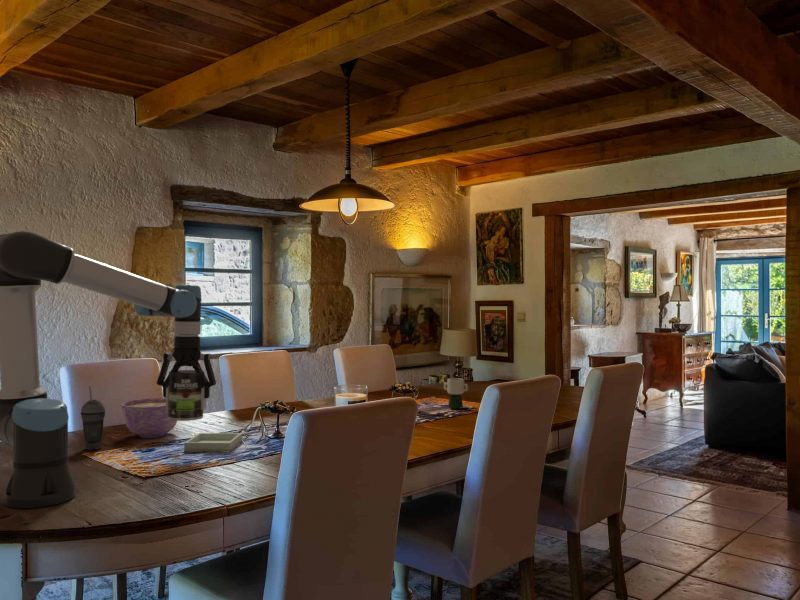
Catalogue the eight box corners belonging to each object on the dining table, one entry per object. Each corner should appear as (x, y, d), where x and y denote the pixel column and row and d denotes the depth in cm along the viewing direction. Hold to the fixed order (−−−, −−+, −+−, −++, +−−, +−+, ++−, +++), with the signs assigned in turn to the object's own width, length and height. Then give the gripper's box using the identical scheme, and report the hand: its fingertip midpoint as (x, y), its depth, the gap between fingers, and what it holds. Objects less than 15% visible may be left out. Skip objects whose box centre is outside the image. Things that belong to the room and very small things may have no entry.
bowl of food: (108, 439, 222) (108, 405, 222) (144, 428, 242) (144, 397, 242) (160, 443, 218) (160, 408, 218) (193, 431, 237) (193, 399, 237)
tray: (230, 451, 205) (230, 443, 205) (184, 451, 206) (184, 442, 206) (242, 441, 220) (242, 433, 220) (199, 441, 220) (199, 433, 220)
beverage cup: (95, 451, 206) (95, 388, 206) (75, 450, 207) (75, 387, 207) (110, 446, 213) (110, 384, 213) (90, 445, 214) (90, 384, 214)
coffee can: (203, 420, 195) (204, 373, 195) (166, 421, 193) (167, 373, 193) (204, 414, 205) (204, 369, 205) (169, 415, 202) (170, 370, 203)
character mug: (470, 408, 284) (470, 378, 284) (464, 411, 278) (464, 380, 278) (446, 406, 289) (446, 377, 289) (440, 409, 283) (440, 379, 282)
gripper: (227, 335, 203) (226, 407, 202) (155, 334, 203) (154, 406, 203) (220, 336, 195) (219, 411, 195) (145, 335, 196) (144, 410, 195)
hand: (186, 408), depth 199 cm, fingers closed on coffee can, 10 cm apart
